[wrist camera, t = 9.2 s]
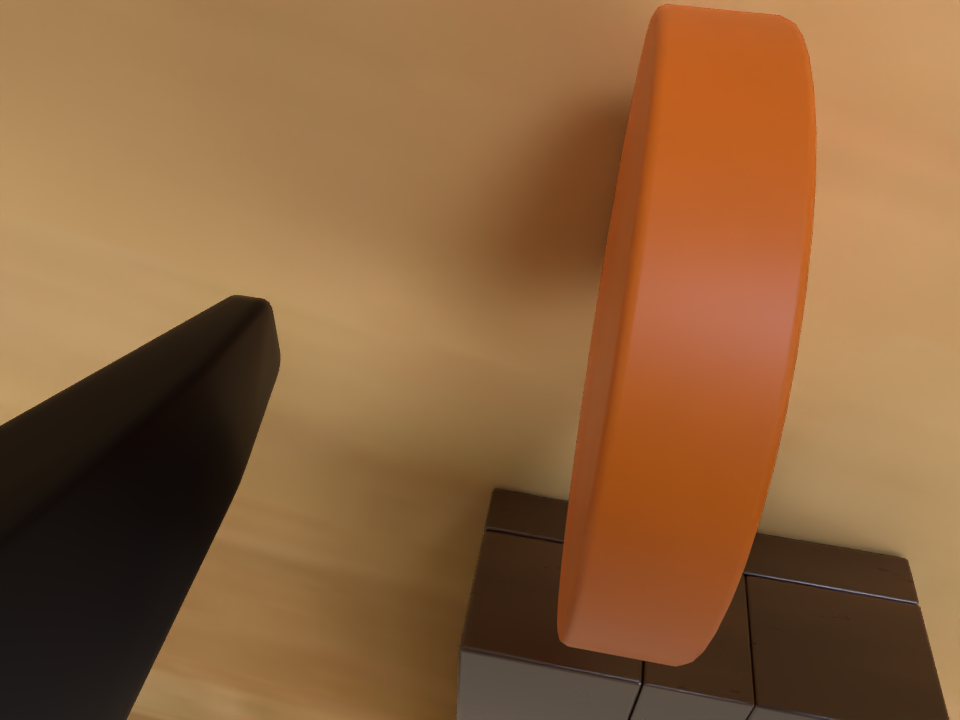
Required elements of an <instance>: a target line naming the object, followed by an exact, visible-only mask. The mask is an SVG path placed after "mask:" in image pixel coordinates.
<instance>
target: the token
mask: <svg viewBox="0 0 960 720" xmlns="http://www.w3.org/2000/svg"><path fill="white" fill-rule="evenodd" d="M815 186H816V116H815V97H814V86H813V79H812V72H811V65H810V58H809V54H808V51H807V48H806V44H805V41H804V38H803V35H802V34H801V32H800V30H799V29H798V27H797V26H796V24H795V23H793V22H791V21H790V20H788V19H786V18H784V17H782V16H780V15H771V14H761V13H751V12H741V11H731V10H721V9H710V8H700V7H690V6H680V5H670V4H665V5H662V6H659V7H658V8H657V9H656V11H655V12H654V14H653V16H652V18H651V21H650V23H649V27H648V30H647V34H646V38H645V42H644V46H643V50H642V54H641V59H640V64H639V68H638V73H637V78H636V83H635V87H634V92H633V97H632V103H631V108H630V113H629V118H628V123H627V129H626V134H625V140H624V145H623V150H622V156H621V162H620V167H619V173H618V179H617V184H616V190H615V196H614V202H613V208H612V213H611V219H610V225H609V231H608V237H607V243H606V249H605V256H604V262H603V268H602V274H601V280H600V287H599V293H598V299H597V306H596V312H595V319H594V325H593V332H592V338H591V345H590V352H589V358H588V365H587V372H586V379H585V385H584V392H583V399H582V406H581V413H580V421H579V428H578V435H577V442H576V450H575V457H574V464H573V472H572V480H571V487H570V495H569V503H568V511H567V519H566V528H565V536H564V545H563V554H562V564H561V574H560V584H559V596H558V611H557V630H558V636H559V640H560V641H561V642H562V643H564V644H565V645H567V646H569V647H574V648H579V649H585V650H590V651H595V652H600V653H606V654H611V655H616V656H622V657H627V658H632V659H638V660H643V661H648V662H653V663H659V664H664V665H669V666H675V667H676V666H681V665H684V664H688V663H691V662H693V661H694V660H695V659H696V658H697V657H698V656H700V655H701V654H702V653H703V652H704V650H705V649H706V647H707V646H708V644H709V643H710V641H711V640H712V638H713V637H714V635H715V634H716V632H717V630H718V628H719V626H720V624H721V622H722V620H723V618H724V616H725V614H726V612H727V610H728V608H729V606H730V603H731V601H732V599H733V596H734V594H735V591H736V589H737V586H738V584H739V581H740V578H741V576H742V573H743V571H744V568H745V566H746V563H747V560H748V557H749V554H750V550H751V547H752V544H753V541H754V538H755V535H756V532H757V529H758V526H759V522H760V519H761V515H762V512H763V508H764V504H765V500H766V497H767V493H768V489H769V486H770V482H771V478H772V474H773V471H774V466H775V462H776V457H777V453H778V448H779V444H780V440H781V435H782V431H783V426H784V422H785V417H786V413H787V407H788V402H789V396H790V391H791V385H792V380H793V374H794V369H795V364H796V358H797V353H798V346H799V339H800V332H801V325H802V318H803V311H804V304H805V298H806V290H807V281H808V271H809V262H810V252H811V243H812V233H813V218H814V202H815Z"/></svg>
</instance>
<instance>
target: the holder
mask: <svg viewBox="0 0 960 720" xmlns="http://www.w3.org/2000/svg"><path fill="white" fill-rule="evenodd" d="M568 503H569V502H568V501H562V500H557V499H551V498H545V497H539V496H533V495H527V494H521V493H515V492H509V491H503V490H497V489H494V490H493V492H492V495H491V500H490V504H489V509H488V513H487V518H486V523H485V528H484V534H483V537H482V542H481V546H480V551H479V556H478V560H477V565H476V570H475V574H474V579H473V583H472V588H471V593H470V597H469V602H468V607H467V611H466V616H465V621H464V625H463V630H462V634H461V639H460V644H459V656H458V679H457V702H456V720H949V717H948V713H947V709H946V705H945V701H944V698H943V694H942V690H941V686H940V682H939V678H938V674H937V670H936V667H935V663H934V659H933V655H932V651H931V647H930V643H929V639H928V636H927V632H926V628H925V624H924V620H923V616H922V612H921V608H920V607H919V606H918V603H919V601H918V597H917V593H916V590H915V586H914V582H913V578H912V574H911V570H910V566H909V562H908V560H907V559H905V558H899V557H893V556H888V555H882V554H876V553H870V552H864V551H858V550H852V549H846V548H840V547H834V546H828V545H823V544H817V543H811V542H805V541H799V540H793V539H787V538H781V537H775V536H769V535H763V534H758V533H756V535H755V538H754V541H753V544H752V547H751V550H750V554H749V557H748V560H747V563H746V566H745V568H744V571H743V573H742V576H741V578H740V581H739V584H738V586H737V589H736V591H735V594H734V596H733V599H732V601H731V603H730V606H729V608H728V610H727V612H726V614H725V616H724V618H723V620H722V622H721V624H720V626H719V628H718V630H717V632H716V634H715V635H714V637H713V638H712V640H711V641H710V643H709V644H708V646H707V647H706V649H705V650H704V652H703V653H702V654H701V655H700V656H698V657H697V658H696V659H695V660H694V661H693V662H691V663H688V664H684V665H681V666H676V667H675V666H669V665H664V664H659V663H653V662H648V661H643V660H638V659H632V658H627V657H622V656H616V655H611V654H606V653H600V652H595V651H590V650H585V649H579V648H574V647H569V646H567V645H565V644H564V643H562V642H561V641H560V640H559V636H558V630H557V611H558V596H559V584H560V574H561V564H562V554H563V545H564V536H565V528H566V519H567V511H568Z"/></svg>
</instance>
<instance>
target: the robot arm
mask: <svg viewBox="0 0 960 720" xmlns="http://www.w3.org/2000/svg"><path fill="white" fill-rule="evenodd" d="M279 367H280V348H279V343H278V337H277V331H276V326H275V320H274V314H273V310H272V307H271V305H270V303H269V302H268V301H267V300H265V299H262V298H255V297H249V296H242V295H233V296H230V297H228V298H226V299H224V300H223V301H221V302H219V303H217V304H216V305H214V306H212V307H210V308H208V309H207V310H205V311H203V312H201V313H200V314H198V315H196V316H194V317H192V318H191V319H189V320H187V321H185V322H184V323H182V324H180V325H178V326H177V327H175V328H173V329H171V330H169V331H168V332H166V333H164V334H162V335H161V336H159V337H157V338H155V339H153V340H152V341H150V342H148V343H146V344H145V345H143V346H141V347H139V348H138V349H136V350H134V351H132V352H130V353H129V354H127V355H125V356H123V357H122V358H120V359H118V360H116V361H114V362H113V363H111V364H109V365H107V366H106V367H104V368H102V369H100V370H99V371H97V372H95V373H93V374H91V375H90V376H88V377H86V378H84V379H83V380H81V381H79V382H77V383H75V384H74V385H72V386H70V387H68V388H67V389H65V390H63V391H61V392H60V393H58V394H56V395H54V396H52V397H51V398H49V399H47V400H45V401H44V402H42V403H40V404H38V405H36V406H35V407H33V408H31V409H29V410H28V411H26V412H24V413H22V414H21V415H19V416H17V417H15V418H13V419H12V420H10V421H8V422H6V423H5V424H3V425H1V426H0V720H127V718H128V715H129V713H130V711H131V709H132V707H133V705H134V703H135V701H136V699H137V697H138V695H139V693H140V691H141V689H142V686H143V684H144V682H145V680H146V678H147V676H148V674H149V672H150V670H151V668H152V666H153V664H154V662H155V659H156V657H157V655H158V653H159V651H160V649H161V647H162V645H163V643H164V641H165V639H166V637H167V635H168V633H169V630H170V628H171V626H172V624H173V622H174V620H175V618H176V616H177V614H178V612H179V610H180V608H181V606H182V603H183V601H184V599H185V597H186V595H187V593H188V591H189V589H190V587H191V585H192V583H193V581H194V579H195V577H196V574H197V572H198V570H199V568H200V566H201V564H202V562H203V560H204V558H205V556H206V554H207V552H208V550H209V548H210V545H211V543H212V541H213V539H214V537H215V535H216V533H217V531H218V529H219V527H220V525H221V523H222V521H223V518H224V516H225V514H226V512H227V510H228V508H229V506H230V504H231V502H232V500H233V498H234V495H235V493H236V491H237V489H238V486H239V484H240V482H241V479H242V476H243V474H244V471H245V468H246V466H247V463H248V460H249V457H250V454H251V451H252V448H253V445H254V442H255V439H256V437H257V434H258V431H259V428H260V425H261V422H262V419H263V416H264V413H265V410H266V407H267V404H268V401H269V399H270V396H271V393H272V390H273V387H274V384H275V381H276V378H277V375H278V372H279Z"/></svg>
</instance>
